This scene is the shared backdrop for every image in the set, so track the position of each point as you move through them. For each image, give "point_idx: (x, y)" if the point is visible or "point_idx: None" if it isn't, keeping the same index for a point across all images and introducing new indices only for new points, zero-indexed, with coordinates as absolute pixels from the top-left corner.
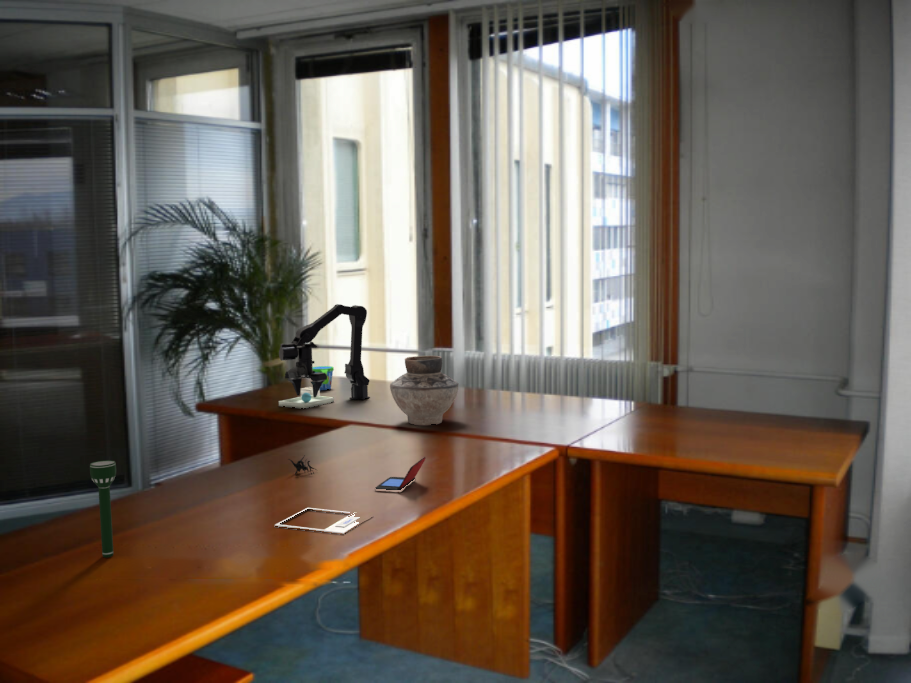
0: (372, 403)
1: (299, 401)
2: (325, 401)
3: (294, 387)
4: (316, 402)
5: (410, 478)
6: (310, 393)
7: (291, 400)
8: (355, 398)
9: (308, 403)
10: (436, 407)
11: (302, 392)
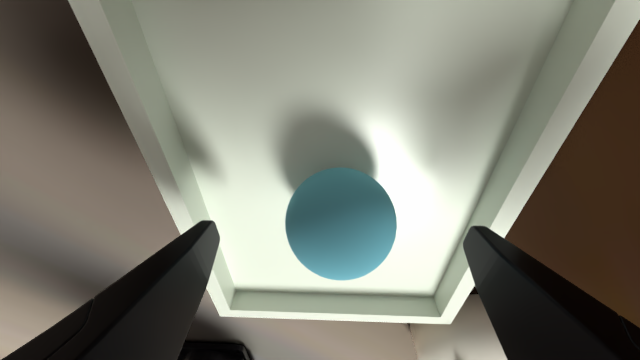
0: (56, 317)
1: (428, 187)
2: None
3: (620, 324)
4: (157, 163)
5: None
6: (451, 341)
7: (517, 147)
8: (203, 348)
9: (81, 15)
10: None
11: None
